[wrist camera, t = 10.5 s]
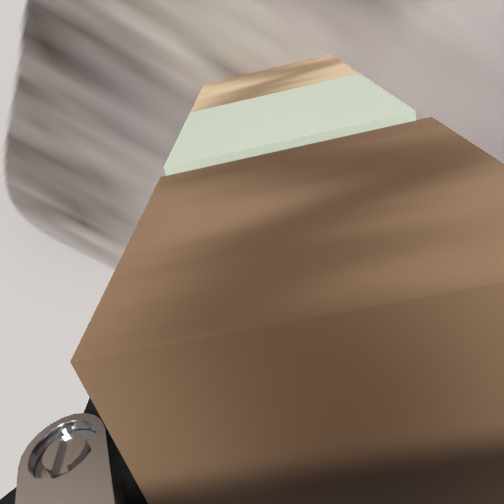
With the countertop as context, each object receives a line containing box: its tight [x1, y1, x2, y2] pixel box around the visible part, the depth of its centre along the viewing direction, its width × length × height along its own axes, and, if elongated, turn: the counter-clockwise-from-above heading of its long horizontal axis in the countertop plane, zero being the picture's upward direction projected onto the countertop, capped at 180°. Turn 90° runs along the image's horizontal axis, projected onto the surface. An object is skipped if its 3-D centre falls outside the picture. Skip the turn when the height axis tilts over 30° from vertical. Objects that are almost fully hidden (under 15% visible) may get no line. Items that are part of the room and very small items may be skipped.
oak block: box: [190, 54, 358, 113], centre depth 20 cm, size 6×6×6 cm
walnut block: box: [71, 117, 504, 504], centre depth 9 cm, size 6×6×6 cm
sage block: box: [163, 73, 416, 176], centre depth 15 cm, size 6×6×6 cm
